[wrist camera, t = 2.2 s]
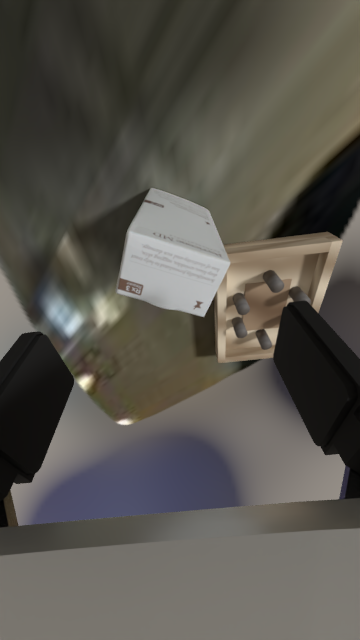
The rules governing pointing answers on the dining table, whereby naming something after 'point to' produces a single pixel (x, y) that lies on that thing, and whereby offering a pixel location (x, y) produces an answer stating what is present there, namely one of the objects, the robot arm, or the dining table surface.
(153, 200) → the skincare box
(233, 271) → the pin tray
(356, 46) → the dining table surface
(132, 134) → the dining table surface
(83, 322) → the dining table surface
